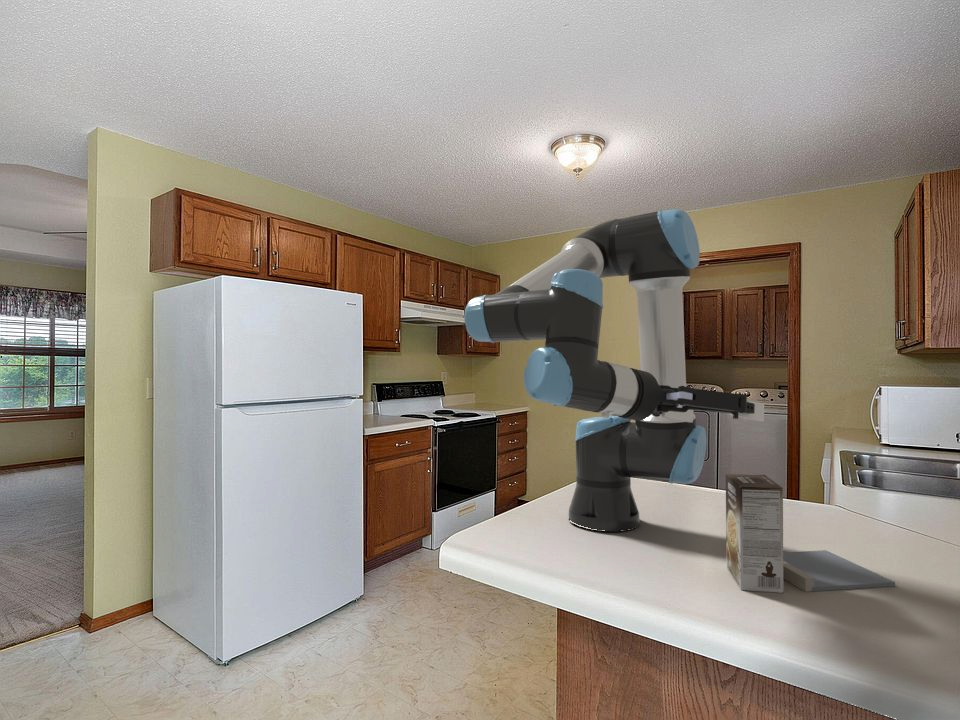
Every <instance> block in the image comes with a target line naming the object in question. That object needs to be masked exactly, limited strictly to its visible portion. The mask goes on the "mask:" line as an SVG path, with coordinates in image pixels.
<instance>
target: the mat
mask: <svg viewBox="0 0 960 720" xmlns="http://www.w3.org/2000/svg"><path fill="white" fill-rule="evenodd" d="M783 580H785V581H786V582H788V583H790V584H791V585H794V586H795V587H797V588H799V589H800V590H802V591H804V592H806V593H807V592H820V591H823V592H824V591H838V590H852V589H853V590H855V589H868V588H870V589H871V588H883V587H884V588H885V587H886V588H887V587H896V581H894V580H892V579H890V578H887V577H885V576H883V575H881V574H878V573H877V572H874V571H872V570H870V569H868V568H865V567H863V566H861V565H859V564H857V563H855V562H852V561H850V560H849V559H845V558H843V557H841V556H840V555H837V554H835V553H832V552H831V551H829V550H826V549H824V550H822V549H821V550H807V551H806V550H803V551H785V552H784V551H783Z"/></svg>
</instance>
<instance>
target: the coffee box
mask: <svg viewBox="0 0 960 720" xmlns="http://www.w3.org/2000/svg"><path fill="white" fill-rule="evenodd" d="M725 524H726V525H725V529H726V530H725V532H726V533H725V536H726V541H725V542H726V545H725V546H726V569H727V570H728V571H729V573H730V574H731V576H732V578H733V580H735V582H736V584H737V585H738V587H739V589H740V590H742V591H749V592H750V591H751V592H752V591H753V592H765V593H779V594H780V593H782V594H784V591H785V589H784V585H785V583H784V579H783V552H784V487H782V486H781V485H779V484H778V483H777V482H775V481H773V480H772V479H771V478H769V477H768V476H767V475H766V474H744V473H743V474H739V473H737V474H736V473H735V474H732V473H731V474H730V473H725Z"/></svg>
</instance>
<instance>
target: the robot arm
mask: <svg viewBox="0 0 960 720" xmlns="http://www.w3.org/2000/svg"><path fill="white" fill-rule="evenodd" d="M699 245H700V244H699V239H698V234H697V231H696V227H695V224H694V223H693V220H692V218H691V217H690V215H689V213H687V212H686V211H685V210H684V209H679V208H677V209H676V208H675V209H667V210H661V209H660V210H658V211H653V212H648V213H647V212H646V213H643V214H642V213H641V214H637V215H633V216H627V217H623V218H615V219H611V220H608V221H605V222H601V223H600V224H597V225H595V226H592V227H591V228H589V229H587V230H585V231H583V232H582V233H580V234H579V235H576V236H575V237H574V238H571V239H570V240H568V241H567V242H566V243H565V244H564V245H563V246H562V247H561V250H560V251H559V253H558V254H556V255H554V256H553V257H552V258H550V259H548V260H547V261H545V262H543V263H542V264H540V265H539V266H538V267H536V268H535V269H533V270H531V271H530V272H528V273H526V274H525V275H523V276H522V277H520V278H519V279H518V280H516V281H515V282H513V283H512V284H510V285H508V286H507V287H505V288H503V289H501V290H500V291H499V292H497V293H495V294H484V295H481V296H475V297H473V298H471V299H470V300H469V301H468V302H467V304H466V307H465V310H464V315H463V316H464V324H465V328H466V332H467V333H468V335H469V336H470V337H471V338H472V339H473V340H474V341H476V342H481V343H482V342H483V343H484V342H486V343H491V344H495V343H503V342H504V343H505V342H520V341H521V342H522V341H543V340H544V341H545V343H544V347H543V346H542V347H538V348H536V349H535V350H533V351H532V352H531V354H530V355H529V357H528V359H527V364H526V366H524V369H523V370H524V371H523V386H524V388H525V391H526V393H527V394H528V395H529V397H530V398H531V399H533V400H535V401H538V402H541V403H542V402H543V403H546V404H550V405H551V406H552V405H553V406H554V407H563V408H568V409H573V410H579V411H584V412H585V411H586V412H591V413H598V414H601V416H595V417H589V418H584V419H581V420H579V421H578V422H577V423H576V428H575V438H574V442H575V472H576V473H575V475H576V476H575V478H576V479H575V480H576V481H575V482H576V485H575V489H574V492H573V494H572V498H571V500H570V501H571V502H570V505H569V508H568V520H569V519H570V520H571V521H572V522H574V523H576V524H578V525H581V526H584V527H588V528H591V529H597V530H605V531H621V530H628V529H632V528H635V527H637V526H638V525H639V526H640V524H639V523H640V521H641V520H640V512H639V509H638V505H637V503H636V499H635V497H634V494H633V491H632V487H631V486H632V485H631V484H632V483H631V482H632V481H631V479H639V480H646V481H648V480H649V481H653V482H654V481H655V482H664V483H668V484H671V485H673V484H683V485H689V484H693V483H694V482H695V481H697V479H698V478H699V476H700V474H701V472H702V469H703V465H704V463H705V457H706V451H707V441H708V440H707V437H708V436H707V434H706V433H707V431H706V429H705V427H704V426H702V425H699V424H697V420H696V419H697V418H696V414H695V413H694V411H701V412H709V413H711V412H712V413H723V414H729V416H731V417H732V419H733V420H737V419H739V418H742V419H745V420H749V421H755V422H765V403H762V402H759V401H758V402H757V401H754V400H750V399H748V395H747V394H744V393H735V392H734V393H733V392H725V391H716V390H708V389H700V388H693V387H688V386H687V377H686V376H687V375H686V352H685V351H686V350H685V346H686V344H685V325H684V322H685V320H684V300H683V297H684V296H683V288H684V287H685V285H686V284H687V283H688V282H689V280H691V270H694V269H696V268H697V267H698V266H699V264H700V252H701V251H700V246H699ZM619 276H620V277H624V276H628V284H629V285H630V287H632V288H633V289H634V290H635V291H636V297H637V301H636V302H637V317H638V319H637V321H638V339H639V362H640V369H637V368H634V367H633V368H632V367H628V366H626V365H621V364H617V363H613V362H608V361H604V360H603V361H602V360H599V359H598V358H599V356H598V355H599V346H600V336H601V335H600V334H601V327H602V326H601V325H602V324H601V323H602V315H603V313H602V312H603V309H604V305H603V298H604V297H603V292H604V286H603V284H604V283H603V280H602V279H604V278H611V277H619ZM631 420H632V422H631ZM639 526H638V527H639ZM638 527H637V528H638ZM635 529H636V528H635ZM632 530H633V529H632ZM628 531H629V530H628ZM621 532H622V531H621Z"/></svg>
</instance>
